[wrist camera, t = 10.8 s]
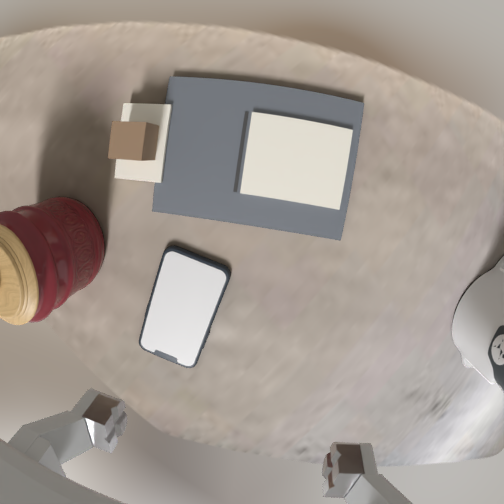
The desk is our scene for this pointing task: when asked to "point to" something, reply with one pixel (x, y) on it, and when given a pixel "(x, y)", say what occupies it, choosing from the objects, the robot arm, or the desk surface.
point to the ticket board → (259, 155)
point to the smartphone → (183, 306)
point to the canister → (46, 257)
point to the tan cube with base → (140, 141)
